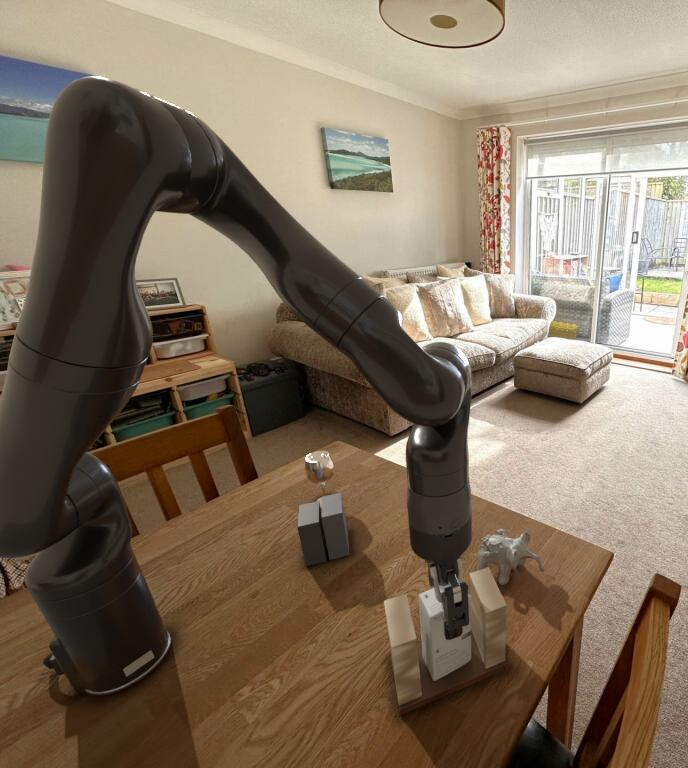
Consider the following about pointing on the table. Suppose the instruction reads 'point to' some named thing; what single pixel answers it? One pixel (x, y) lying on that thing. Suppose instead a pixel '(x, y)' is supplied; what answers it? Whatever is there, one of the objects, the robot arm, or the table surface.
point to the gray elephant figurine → (505, 553)
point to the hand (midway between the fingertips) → (444, 607)
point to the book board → (485, 646)
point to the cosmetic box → (441, 638)
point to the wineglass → (319, 469)
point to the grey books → (323, 530)
